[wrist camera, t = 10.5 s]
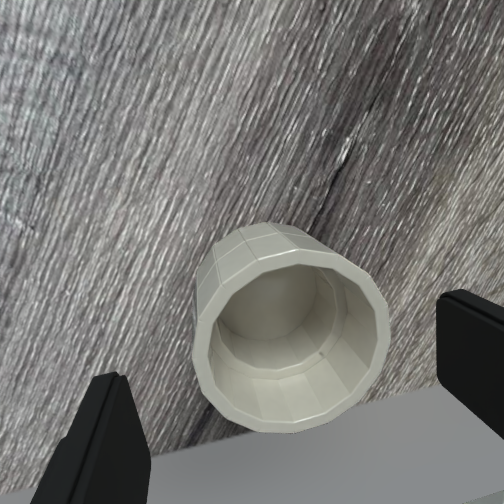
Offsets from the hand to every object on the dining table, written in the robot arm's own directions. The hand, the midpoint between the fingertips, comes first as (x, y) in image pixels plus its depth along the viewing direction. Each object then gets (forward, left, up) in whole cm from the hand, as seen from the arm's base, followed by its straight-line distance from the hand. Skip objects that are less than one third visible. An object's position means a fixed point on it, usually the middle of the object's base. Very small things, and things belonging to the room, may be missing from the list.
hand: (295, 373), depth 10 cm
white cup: (0, 0, -7) cm, 7 cm away
